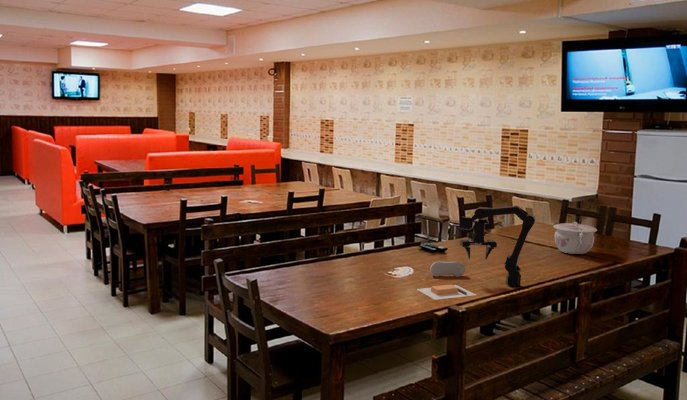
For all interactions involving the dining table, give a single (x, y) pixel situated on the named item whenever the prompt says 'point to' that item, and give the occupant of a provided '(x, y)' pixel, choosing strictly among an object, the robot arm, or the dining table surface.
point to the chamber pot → (574, 237)
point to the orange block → (444, 289)
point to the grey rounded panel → (447, 269)
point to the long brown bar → (462, 291)
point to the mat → (444, 296)
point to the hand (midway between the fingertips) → (477, 259)
